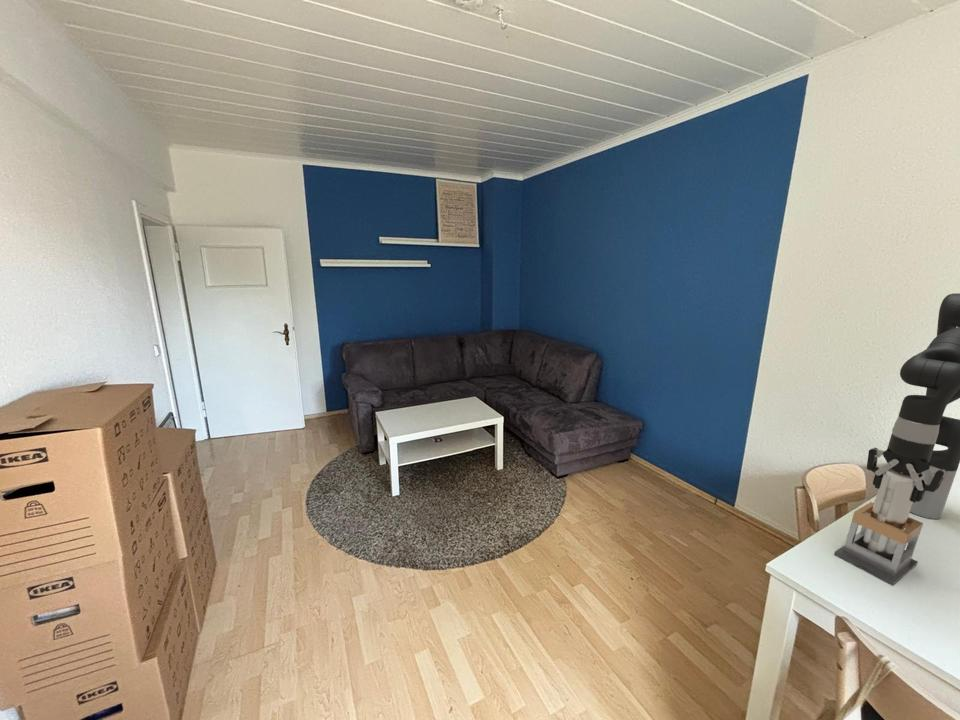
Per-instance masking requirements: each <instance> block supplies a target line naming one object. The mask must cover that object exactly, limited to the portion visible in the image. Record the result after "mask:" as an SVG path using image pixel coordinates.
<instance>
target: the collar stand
mask: <svg viewBox="0 0 960 720" xmlns="http://www.w3.org/2000/svg"><path fill="white" fill-rule="evenodd" d="M873 505H874V502H872V501H870V502H868V503H866V504H865V505H863V506H861V507H859V508H858V509H856V510H854V512H853V515H852V519H851V521H850V522H851V523H850V525H849V529H848V532H847V537H846V540H845V542H844V545H842V546H841V547H840V548H839V549H837V550H836V551H834V554H833V555H834V556H835V557H837V558H839V559H841V560H843V561H845V562H847V563H849V564H851V565H853V566H855V567H856V568H859V570H860V569H861V570H862V571H864V572H866V573H868V574H870V575H872V576H874V577H876V578H877V579H880V580H881V581H883V582H885V583H887V584H889V585H891V586H894V585H895V584H897V583H898V582H899V581H900V580H901V579H903V577H904V576H907V574H909V572H910V571H912V570H913V569H914V568H915V567H916V566H917V565H918V563H919V561H918V560H915V559H914V558H913V556H914V552H915V549H916V546H917V542H918V540H919V537H920V534H921V531H922V528H923V527H924V526H923V525H924V522H922V521H919V520H917V519H914V518H911V517H909V516H908V519H907V522H906V525H905V528H904V530H900V529H898V528H896V527H894V526H891V525H889V524H887V523H884V522H882V521H880V520H877V519H875V518H873V517H870V515H871V512H872V509H873ZM859 526H861V529H860V531H859V532H858V533H857V531H858V529H859ZM867 528H868V529H870V530H872V531H874V532H877V533H879V534H881V535H883V536H886V537H888V538H890V539H892V540H894V541H897V542H898V543H897V546H896V550H895V553H894V556H893V559H892V561H890V560H888V559H886V558H884V557H882V556H880V555H878V554H876V553H873V552H871V551H869V550H867V549H865V548H863V547H861V546H862V542H863V539H864V536H865V532H866V529H867Z"/></svg>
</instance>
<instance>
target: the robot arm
mask: <svg viewBox="0 0 960 720" xmlns="http://www.w3.org/2000/svg"><path fill="white" fill-rule="evenodd" d="M899 377H900V378H901V380H902V381H903V382H904V383H906V384H908V385H910V386H915V387H919V388H920V387H921V388H926V389H925V390H926V392H925V395H924V394H908V395H906V396H904V398H903V400H902V403H901V406H900V410H899V414H898V416H897V418H896V420H895V422H894V425H893V427H892V429H891V434H890V437H889V442H888V445H887V447H886V450H881V449H878V448H877V447H873V448H870V449H869V450H868V455H867V462H866V470H868V471H871V472H872V473H873V474H874V476H873V480H872V486H874V488H875V489H876V490H878V488H879V485H880V482H881V478H882V475H883V472H886V471H887V470H889V469H891V468H892V469H893V470H894V471H897V472H902V473H904V474H906V475H909V476H910V475H911V478H912V480H913V481H914V483H916V484H915V485H916V489H915V490H914V494H913V497H912V500H911V501H912V502H913V503H912V506H911V509H910V512H909V513H911V514H914V515H916V516H919V517H923V518H927V519H932V520H933V519H934V520H938V519H941V517H942V514H943V511H944V508H945V506H946V504H947V503H946V502H947V500H948V498H949V495H950V491H951V489H952V486H953V483H954V479H955V477H956V475H957V472H958V468H959V465H960V419H958V418H953V417H949V416H946V415H944V413H945V410H946V408H947V406H948V405H950V404H951V403H953V402H955V401H957V400H959V399H960V292H958V293H949V294H947V295H946V296H945V297H944V298H943V299H942V301H941V304H940V306H939V310H938V318H937V328H936V337H934V338H933V340H932V341H931V342H930V344H929V345H928V346H927V348H925V349H924V350H923V351H921V352H919V353H917V354H916V355H913V356H911V357H910V358H909V359H907V361H905V362H904V364H902V366H901V368H900V369H899ZM935 445H939V446H942V447H946V448H947V449H942V450H936V449H935V450H934V448H935ZM882 456H883V458H884V459H885V461H886V463H885V464H884V465H883V466H882V467H879V466H877V465H878V459H879V458H880V457H882Z"/></svg>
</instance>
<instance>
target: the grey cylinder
mask: <svg viewBox="0 0 960 720" xmlns="http://www.w3.org/2000/svg"><path fill="white" fill-rule="evenodd" d="M915 484H916V483H914V481H913V480H912V478H911V475H910V476H909V475H906V474H904V473H902V472H897V471H894V470H893V469H892V468H891V469H889V470H887V471H886V472H883V475H882V478H881V482H880V485H879V488H878V489H877V492H876V496H875V498H874V502H873V503H874V505H873V509H872V512H871V515H870V517H873V518H875V519H877V520H880V521H882V522H884V523H887V524H889V525H891V526H894V527H896V528H898V529H900V530H905V525H906V522H907V519H908V517H909V515H910V513H911V512H910V509H911V506H912V503H913V502H912V501H911V500H912V497H913V494H914V490H915V489H916V485H915ZM897 543H898V542H897V541H894V540H892V539H890V538H888V537H886V536H883V535H881V534H879V533H877V532H874V531H872V530H870V529H868V528H867V529H866V532H865V536H864V539H863V542H862V546H861V547H863V548H865V549H867V550H869V551H871V552H873V553H876V554H878V555H880V556H882V557H884V558H886V559H888V560H890V561H892V559H893V556H894V553H895V550H896V546H897Z"/></svg>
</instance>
